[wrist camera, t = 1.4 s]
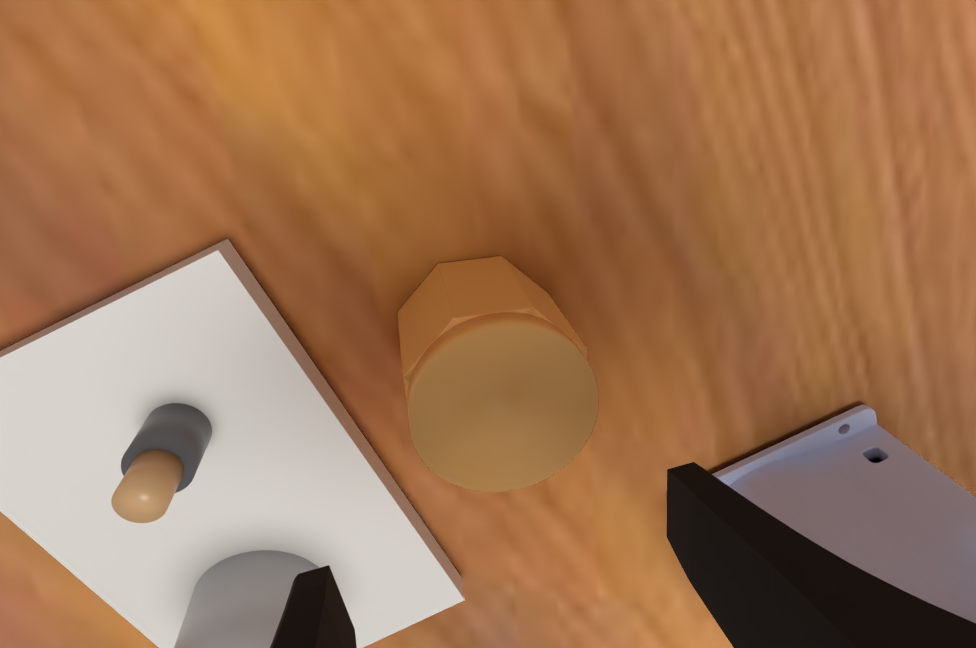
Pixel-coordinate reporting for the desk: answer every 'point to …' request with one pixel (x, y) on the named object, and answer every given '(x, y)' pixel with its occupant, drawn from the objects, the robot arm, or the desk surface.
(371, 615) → the plate
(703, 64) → the desk surface
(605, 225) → the desk surface
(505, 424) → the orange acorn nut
